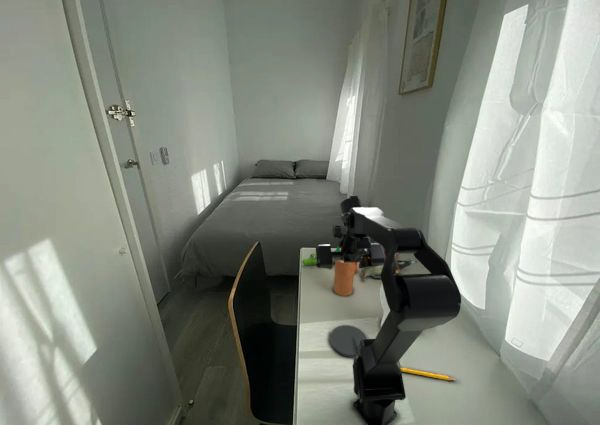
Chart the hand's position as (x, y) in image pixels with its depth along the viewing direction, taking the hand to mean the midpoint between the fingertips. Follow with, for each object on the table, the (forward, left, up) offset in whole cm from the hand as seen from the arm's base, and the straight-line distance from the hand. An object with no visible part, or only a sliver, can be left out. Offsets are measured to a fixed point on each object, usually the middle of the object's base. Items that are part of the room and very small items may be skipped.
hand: (344, 267), depth 76 cm
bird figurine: (-4, -32, -7) cm, 33 cm away
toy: (+25, -11, -15) cm, 32 cm away
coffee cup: (+15, -16, -15) cm, 26 cm away
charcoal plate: (-11, +8, -15) cm, 20 cm away
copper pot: (+8, -7, -15) cm, 18 cm away
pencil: (-28, -1, -15) cm, 32 cm away
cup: (-15, -7, -15) cm, 22 cm away
